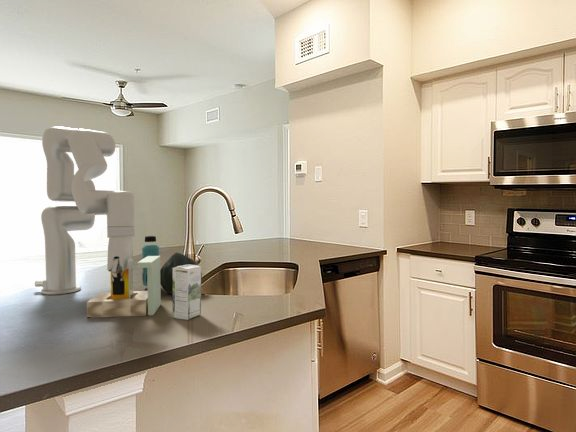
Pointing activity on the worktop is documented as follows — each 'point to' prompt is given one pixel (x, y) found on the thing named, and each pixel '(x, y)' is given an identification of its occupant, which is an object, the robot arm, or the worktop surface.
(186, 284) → the syrup box
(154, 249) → the beverage bottle
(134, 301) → the socket
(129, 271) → the beer can
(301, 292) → the worktop surface
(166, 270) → the squash
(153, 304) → the mint green slab
